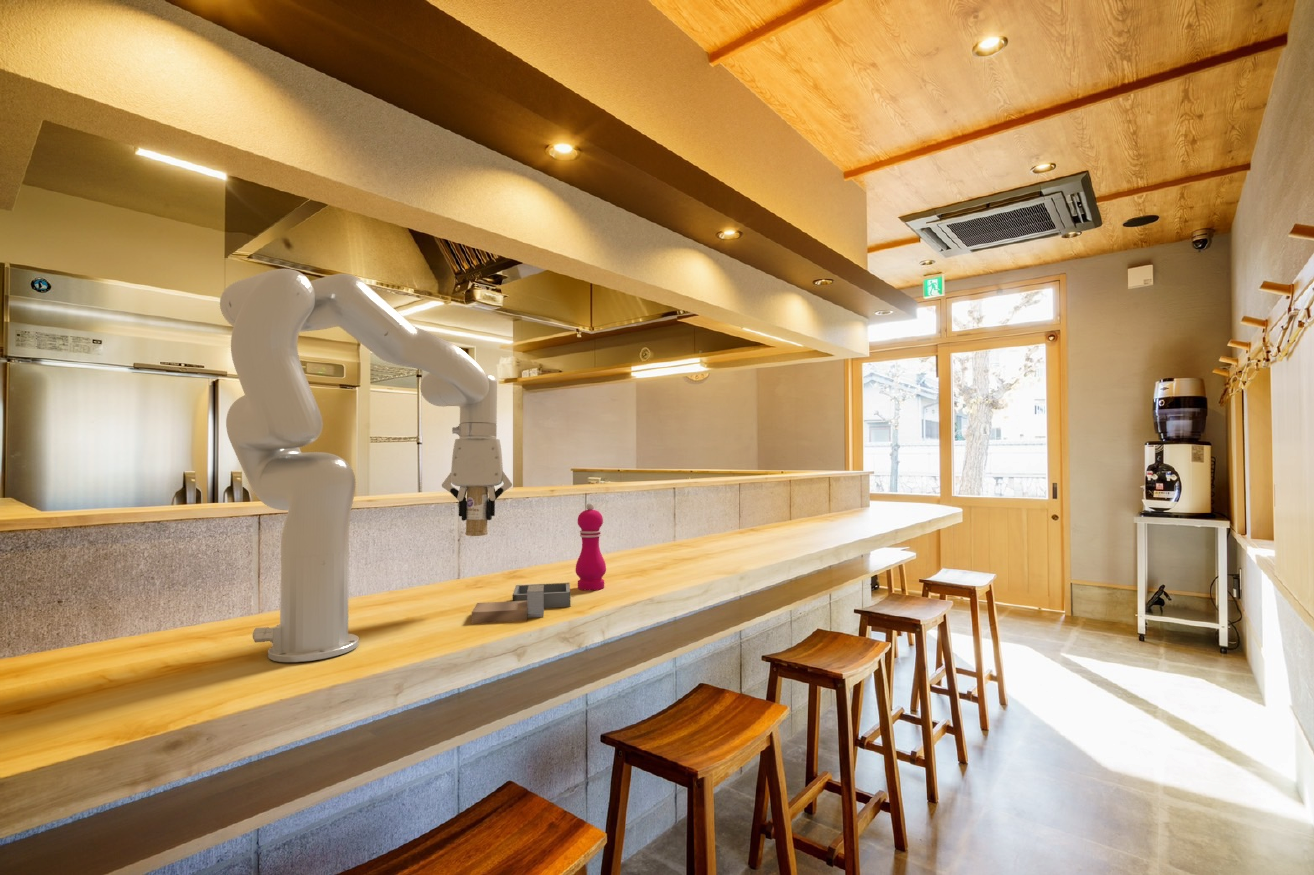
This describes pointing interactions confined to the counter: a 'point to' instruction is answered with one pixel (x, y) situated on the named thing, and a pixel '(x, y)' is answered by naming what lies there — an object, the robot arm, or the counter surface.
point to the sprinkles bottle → (476, 511)
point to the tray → (547, 594)
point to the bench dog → (535, 601)
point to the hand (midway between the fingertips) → (476, 519)
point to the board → (499, 612)
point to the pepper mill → (590, 551)
